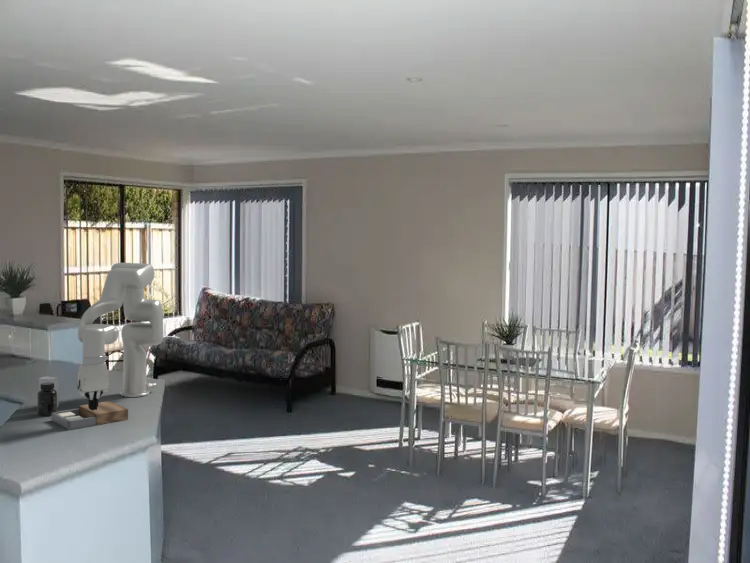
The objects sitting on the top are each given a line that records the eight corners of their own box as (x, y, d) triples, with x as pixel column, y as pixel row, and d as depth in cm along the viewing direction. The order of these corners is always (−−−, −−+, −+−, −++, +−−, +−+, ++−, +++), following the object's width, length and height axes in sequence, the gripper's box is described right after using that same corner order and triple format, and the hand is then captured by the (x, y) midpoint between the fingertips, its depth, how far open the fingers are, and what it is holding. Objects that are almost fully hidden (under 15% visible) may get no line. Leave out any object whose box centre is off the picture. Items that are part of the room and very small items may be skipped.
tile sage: (64, 418, 239) (64, 423, 239) (69, 421, 235) (69, 426, 235) (79, 415, 242) (78, 421, 243) (84, 418, 239) (84, 424, 239)
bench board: (109, 410, 260) (109, 400, 260) (127, 419, 249) (128, 409, 249) (78, 415, 251) (78, 405, 251) (96, 425, 240) (96, 414, 240)
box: (78, 416, 251) (78, 408, 251) (95, 425, 240) (95, 417, 240) (51, 420, 244) (51, 412, 244) (68, 430, 233) (68, 421, 233)
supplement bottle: (52, 410, 257) (52, 380, 257) (60, 414, 253) (60, 383, 252) (34, 414, 252) (34, 383, 251) (42, 417, 248) (42, 386, 247)
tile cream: (56, 413, 244) (56, 419, 244) (61, 416, 241) (61, 422, 241) (70, 411, 248) (70, 416, 248) (75, 414, 244) (75, 419, 244)
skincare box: (58, 406, 264) (58, 377, 263) (50, 409, 260) (51, 379, 259) (46, 405, 265) (46, 376, 265) (38, 407, 261) (38, 378, 260)
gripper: (109, 357, 250) (108, 404, 251) (68, 361, 239) (68, 410, 240) (117, 359, 245) (117, 408, 246) (77, 364, 234) (76, 414, 235)
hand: (93, 409), depth 243 cm, fingers closed
